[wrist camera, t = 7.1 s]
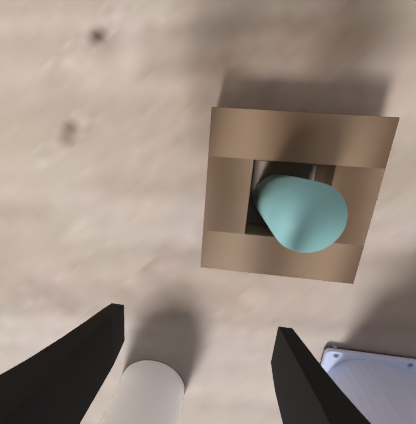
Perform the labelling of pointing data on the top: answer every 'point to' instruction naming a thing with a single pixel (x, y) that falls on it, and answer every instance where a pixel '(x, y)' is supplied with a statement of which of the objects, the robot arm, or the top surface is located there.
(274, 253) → the socket block
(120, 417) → the pill bottle
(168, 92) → the top surface
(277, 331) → the robot arm
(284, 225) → the dowel
